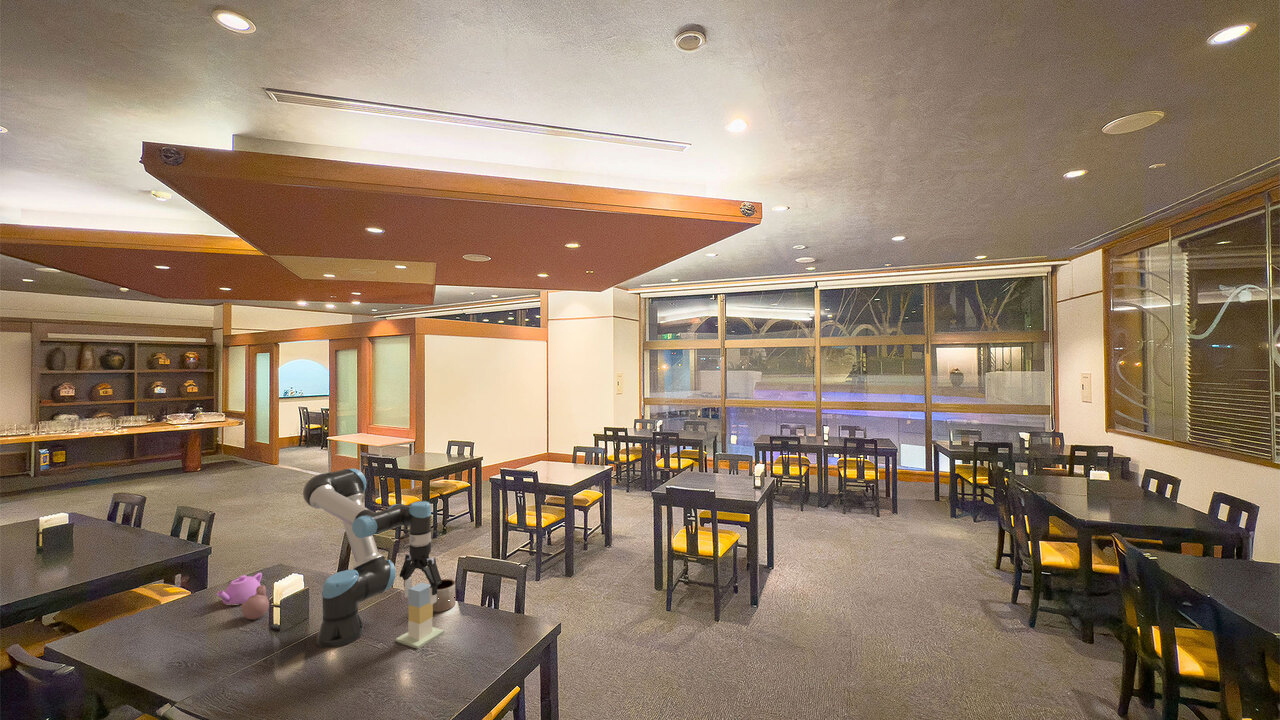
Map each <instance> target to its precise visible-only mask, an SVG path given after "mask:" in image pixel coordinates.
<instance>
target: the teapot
mask: <svg viewBox="0 0 1280 720" xmlns="http://www.w3.org/2000/svg"><path fill="white" fill-rule="evenodd" d="M262 577H263V573H262V572H257V573H256V574H254V575H253V576H250V575H249V576H247V575H246V574H244V575H240V576H239V577H237V578H235V579H233V580H232V581H231V582H230V583H229V584H228V585H227V587H226V589H225V590H220V591H218V592H217V593H216V596H217V597H219V598H220V599H221V600H222V601H221V602H222V603H223V604H224V605H226V604H243V603H245V602H246V601H247V600H248V598H249V597H251V596H255V594H256V593H257V592H256V589H257V587H258V586H262V585H261V580H262Z"/></svg>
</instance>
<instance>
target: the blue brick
mask: <svg viewBox="0 0 1280 720" xmlns="http://www.w3.org/2000/svg"><path fill="white" fill-rule="evenodd" d="M430 586H431V585H430V583H426V582H425V583H424V582H419V583H417V584H416V585H413V586H412V587H411V588H409V589H408V597H407V598H408V599H407V601H408V603H407V605H408V606H409V605H411V606H415V607H418V608H420V607H422V606H424V605H426V604H428V603H429V587H430Z"/></svg>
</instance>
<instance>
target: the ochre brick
mask: <svg viewBox="0 0 1280 720" xmlns="http://www.w3.org/2000/svg"><path fill="white" fill-rule="evenodd" d="M433 613H434V612H433V604H431V605H430V604H429V603H428V604H426V605H424V606H422V607H420V608H418V607H415V606H411V605H408V620H409V621H411V622H415V623H418V624H421V623H422V622H424V621H426V620H428V619H430V618H431V617H432V618H434V615H433Z"/></svg>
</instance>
